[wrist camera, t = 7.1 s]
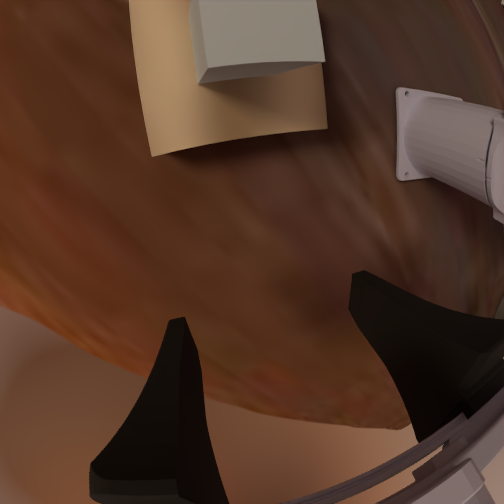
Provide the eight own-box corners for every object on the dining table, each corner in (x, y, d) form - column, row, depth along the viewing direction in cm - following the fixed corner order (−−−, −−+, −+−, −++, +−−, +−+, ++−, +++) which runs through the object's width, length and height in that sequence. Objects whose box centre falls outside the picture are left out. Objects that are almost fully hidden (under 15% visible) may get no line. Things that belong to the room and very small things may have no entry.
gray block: (263, 12, 11) (309, -30, 6) (272, 75, 13) (325, 61, 8) (188, 18, 10) (194, -31, 5) (197, 84, 12) (207, 67, 7)
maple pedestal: (289, -6, 12) (307, -21, 10) (306, 124, 18) (327, 128, 15) (135, 9, 11) (128, -8, 8) (156, 149, 16) (151, 156, 14)
